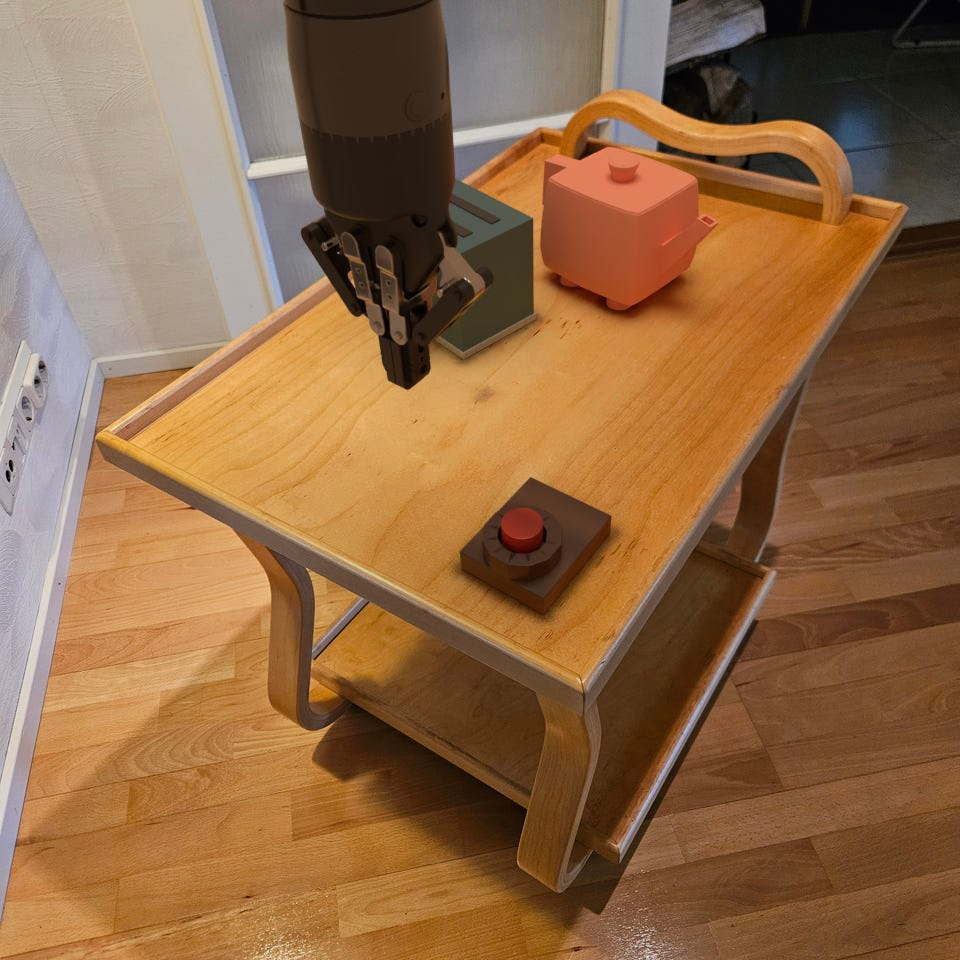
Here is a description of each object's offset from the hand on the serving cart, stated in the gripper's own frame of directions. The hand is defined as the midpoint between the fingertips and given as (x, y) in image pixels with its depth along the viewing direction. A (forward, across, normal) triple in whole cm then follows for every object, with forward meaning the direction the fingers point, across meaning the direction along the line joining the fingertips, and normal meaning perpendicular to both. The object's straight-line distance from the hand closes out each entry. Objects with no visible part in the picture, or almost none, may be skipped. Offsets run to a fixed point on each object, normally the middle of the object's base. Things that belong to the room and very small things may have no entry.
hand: (407, 379), depth 53 cm
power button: (+16, -6, -5) cm, 18 cm away
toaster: (+20, +22, -30) cm, 42 cm away
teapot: (+19, +9, -45) cm, 50 cm away
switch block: (+20, -6, -7) cm, 21 cm away
